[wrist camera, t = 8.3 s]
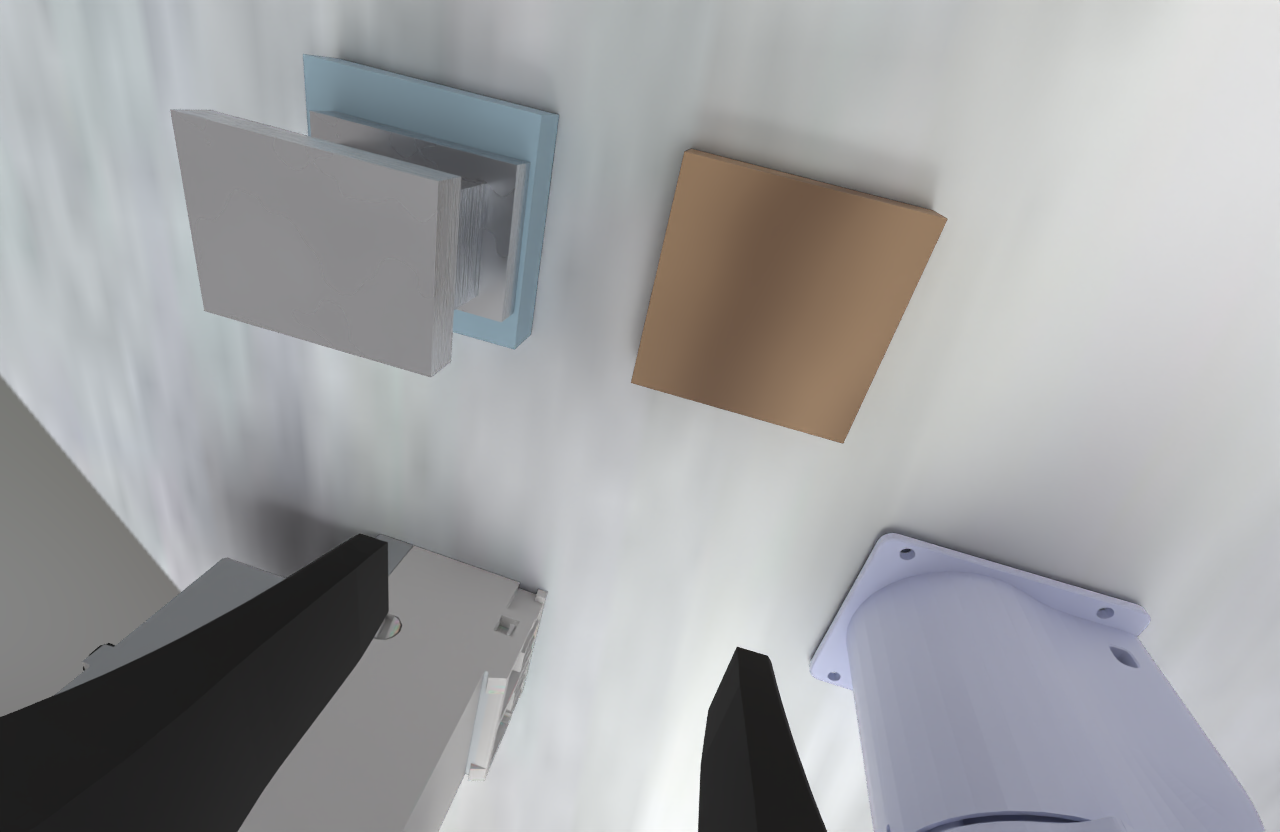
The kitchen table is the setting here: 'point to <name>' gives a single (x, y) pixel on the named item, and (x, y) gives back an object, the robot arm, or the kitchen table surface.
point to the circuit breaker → (381, 693)
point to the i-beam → (351, 231)
